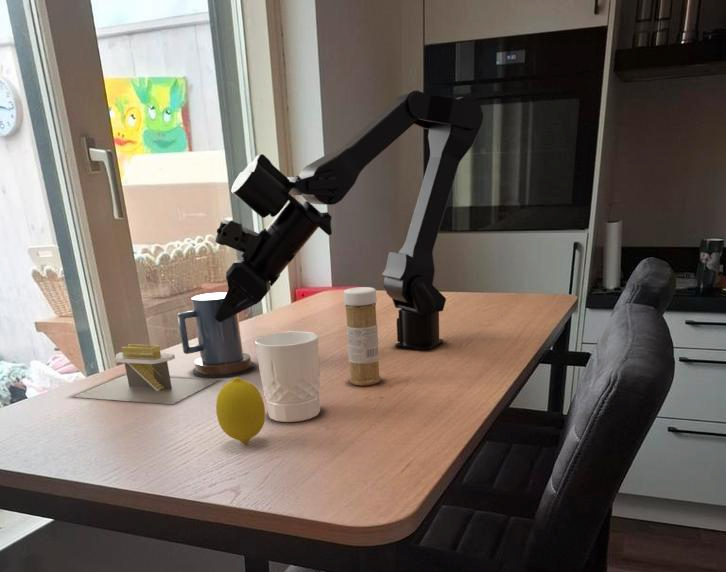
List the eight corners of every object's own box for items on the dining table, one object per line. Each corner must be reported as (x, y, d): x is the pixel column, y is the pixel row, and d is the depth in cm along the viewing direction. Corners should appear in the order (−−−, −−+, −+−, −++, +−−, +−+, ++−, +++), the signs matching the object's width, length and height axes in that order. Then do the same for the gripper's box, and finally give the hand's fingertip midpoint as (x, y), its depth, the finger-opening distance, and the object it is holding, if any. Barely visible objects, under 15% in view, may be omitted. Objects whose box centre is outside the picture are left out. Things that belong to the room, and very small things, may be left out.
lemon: (223, 437, 85) (214, 372, 82) (269, 433, 85) (261, 369, 82) (219, 453, 80) (208, 386, 77) (267, 449, 80) (259, 382, 77)
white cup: (315, 424, 87) (308, 345, 83) (255, 423, 89) (245, 345, 85) (330, 404, 94) (324, 330, 90) (275, 404, 96) (266, 331, 92)
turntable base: (267, 364, 116) (266, 362, 116) (226, 380, 108) (226, 378, 108) (222, 359, 121) (221, 357, 121) (180, 374, 113) (179, 372, 113)
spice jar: (371, 376, 106) (367, 285, 100) (385, 383, 102) (381, 288, 97) (344, 381, 104) (338, 289, 99) (357, 388, 100) (351, 292, 95)
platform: (172, 404, 98) (164, 358, 96) (72, 396, 105) (62, 353, 102) (218, 380, 109) (212, 338, 106) (124, 375, 115) (116, 335, 112)
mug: (236, 357, 120) (227, 289, 115) (260, 367, 113) (252, 295, 109) (176, 370, 115) (164, 299, 110) (198, 381, 108) (186, 305, 103)
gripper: (252, 196, 112) (194, 271, 117) (232, 201, 95) (166, 288, 100) (305, 245, 115) (246, 316, 120) (295, 258, 98) (228, 340, 103)
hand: (222, 314), depth 111 cm, fingers open, 9 cm apart
